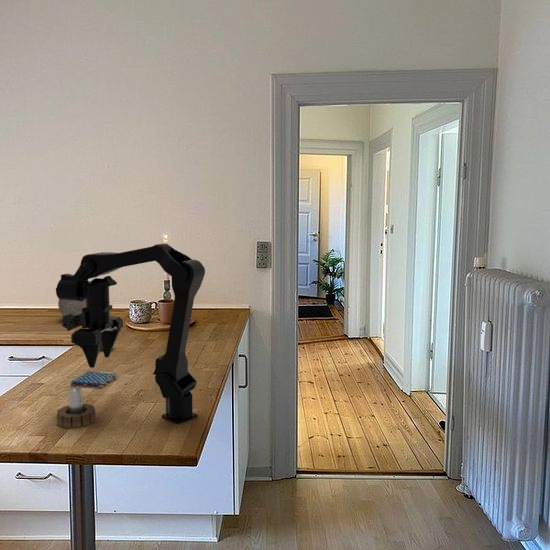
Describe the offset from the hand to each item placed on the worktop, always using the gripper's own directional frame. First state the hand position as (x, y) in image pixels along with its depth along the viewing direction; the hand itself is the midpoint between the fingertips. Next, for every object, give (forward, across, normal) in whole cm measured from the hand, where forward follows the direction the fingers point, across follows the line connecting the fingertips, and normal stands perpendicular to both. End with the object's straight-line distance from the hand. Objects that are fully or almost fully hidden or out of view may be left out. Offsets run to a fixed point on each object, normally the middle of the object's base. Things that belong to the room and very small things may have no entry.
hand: (99, 362), depth 143 cm
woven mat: (+13, -18, -10) cm, 24 cm away
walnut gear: (+12, +10, -2) cm, 15 cm away
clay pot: (+12, -96, -48) cm, 108 cm away
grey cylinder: (+12, +10, -2) cm, 15 cm away
